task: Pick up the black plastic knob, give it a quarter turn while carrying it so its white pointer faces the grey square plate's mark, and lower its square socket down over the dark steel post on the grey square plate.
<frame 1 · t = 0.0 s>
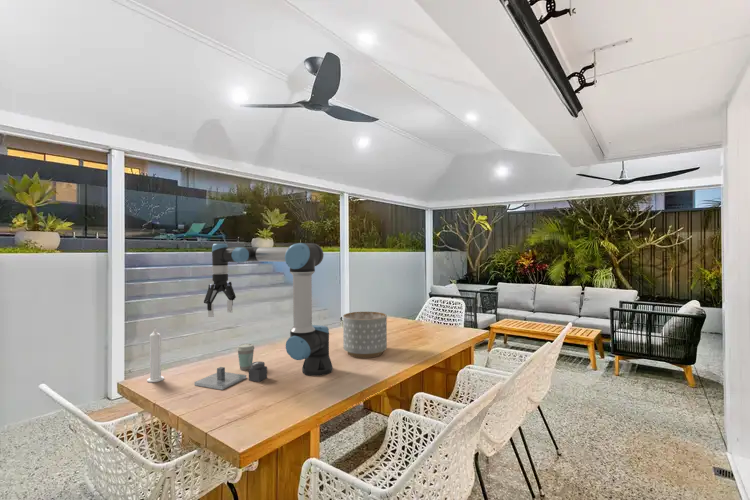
hand: (220, 314, 202), 28 cm above the table, fingers open, 13 cm apart
coffee cup: (245, 368, 203), on the table
planter: (365, 353, 231), on the table
grey square plate: (221, 381, 183), on the table
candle: (155, 380, 186), on the table
knob: (258, 379, 187), on the table
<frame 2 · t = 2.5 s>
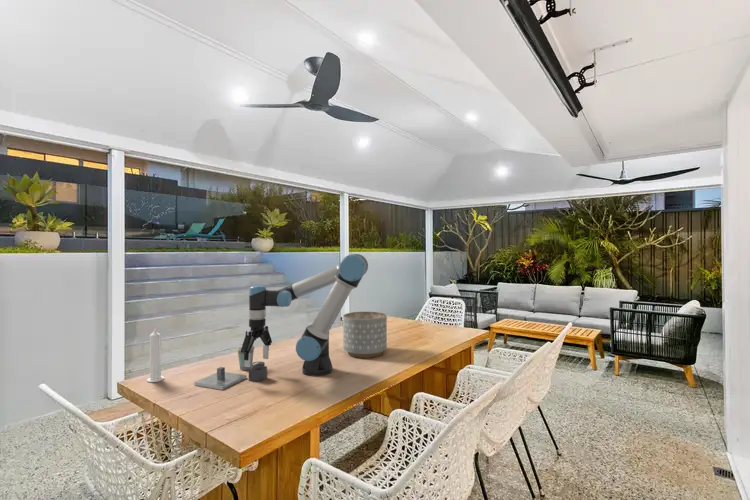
hand: (256, 362, 187), 8 cm above the table, fingers open, 13 cm apart
nothing on the table moved.
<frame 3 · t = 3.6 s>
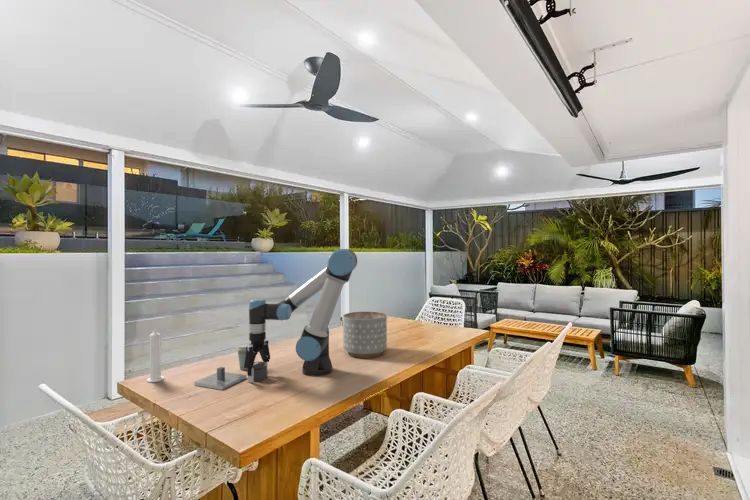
hand: (257, 378, 187), 0 cm above the table, fingers open, 9 cm apart
nothing on the table moved.
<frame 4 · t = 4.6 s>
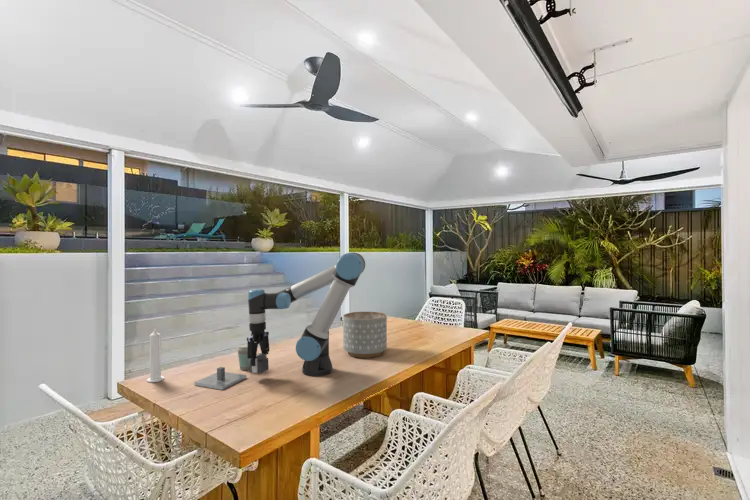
hand: (259, 370, 187), 4 cm above the table, fingers closed on knob, 6 cm apart
knob: (259, 370, 187), point 4 cm above the table, touching gripper
everything else where it was.
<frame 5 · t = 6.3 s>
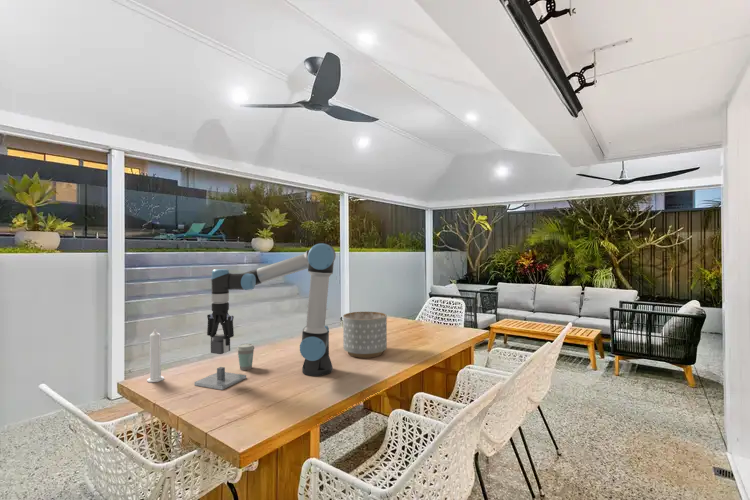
hand: (220, 351, 183), 14 cm above the table, fingers closed on knob, 6 cm apart
knob: (220, 351, 183), point 14 cm above the table, touching gripper
everything else where it was.
when the fingers open (2 cm above the table, at t = 8.3 s): knob stays where it is, resting on grey square plate.
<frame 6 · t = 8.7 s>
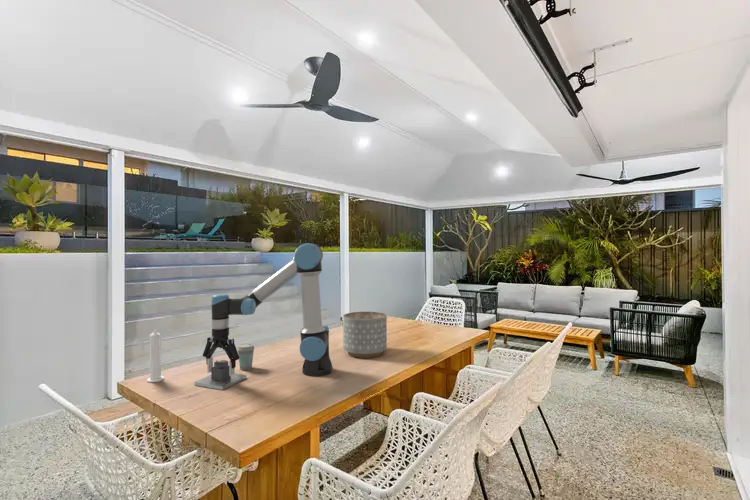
hand: (220, 373, 183), 4 cm above the table, fingers open, 12 cm apart
knob: (220, 378, 183), point 2 cm above the table, touching grey square plate
everything else where it was.
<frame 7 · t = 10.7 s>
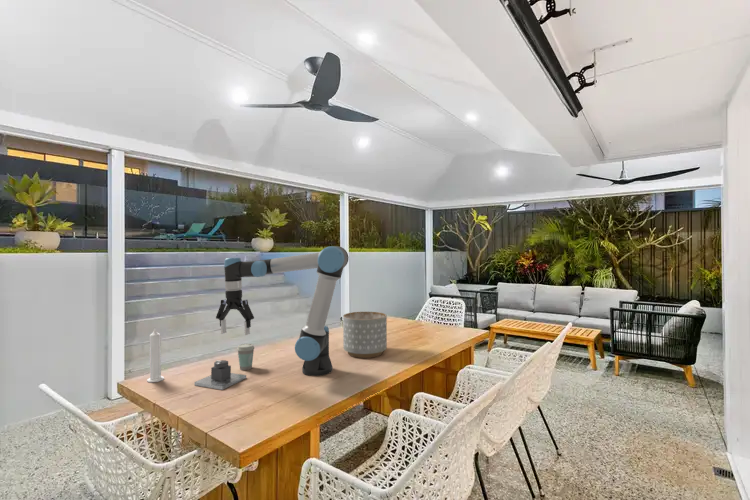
hand: (235, 333, 188), 21 cm above the table, fingers open, 13 cm apart
nothing on the table moved.
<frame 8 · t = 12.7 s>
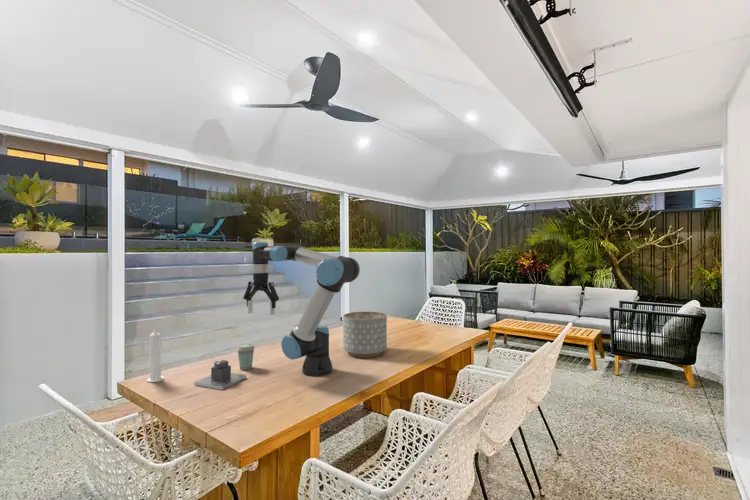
hand: (261, 313, 200), 29 cm above the table, fingers open, 13 cm apart
nothing on the table moved.
at the end: knob 0.1 cm off-centre on the grey square plate, point 1.6 cm above the grey square plate's base; knob tilted 2°; the gripper is holding nothing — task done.
